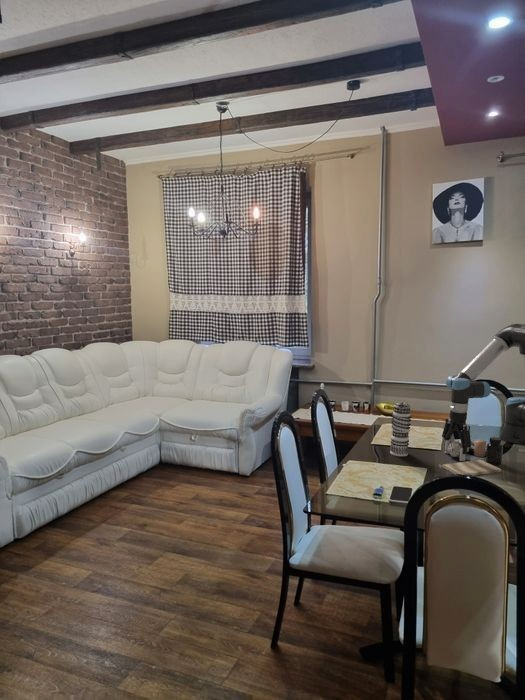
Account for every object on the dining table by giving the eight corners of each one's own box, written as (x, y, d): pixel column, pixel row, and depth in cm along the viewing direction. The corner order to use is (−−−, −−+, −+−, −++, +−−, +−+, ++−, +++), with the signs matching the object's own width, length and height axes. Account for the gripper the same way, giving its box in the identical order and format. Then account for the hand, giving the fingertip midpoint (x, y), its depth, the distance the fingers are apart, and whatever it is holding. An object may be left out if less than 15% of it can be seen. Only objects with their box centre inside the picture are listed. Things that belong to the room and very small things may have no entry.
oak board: (480, 462, 229) (480, 459, 229) (500, 471, 218) (501, 469, 218) (442, 467, 221) (442, 464, 221) (461, 477, 210) (461, 474, 210)
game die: (458, 465, 234) (468, 454, 227) (441, 458, 235) (451, 446, 228) (459, 452, 240) (470, 440, 234) (443, 444, 241) (452, 432, 235)
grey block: (461, 448, 248) (462, 439, 247) (468, 451, 244) (469, 442, 243) (453, 449, 246) (454, 439, 246) (460, 452, 242) (461, 443, 241)
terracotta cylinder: (479, 452, 242) (480, 439, 241) (487, 456, 237) (488, 442, 236) (471, 453, 240) (472, 440, 239) (479, 457, 236) (480, 443, 235)
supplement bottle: (500, 462, 230) (502, 437, 228) (502, 467, 224) (504, 441, 222) (484, 460, 232) (486, 435, 231) (485, 464, 226) (488, 439, 224)
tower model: (394, 457, 233) (398, 405, 229) (385, 450, 242) (389, 400, 238) (412, 456, 235) (416, 405, 231) (403, 449, 244) (406, 400, 240)
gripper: (436, 405, 241) (432, 449, 244) (469, 417, 220) (465, 465, 223) (448, 404, 243) (445, 448, 247) (482, 416, 223) (478, 464, 226)
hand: (454, 456), depth 235 cm, fingers closed on game die, 9 cm apart
